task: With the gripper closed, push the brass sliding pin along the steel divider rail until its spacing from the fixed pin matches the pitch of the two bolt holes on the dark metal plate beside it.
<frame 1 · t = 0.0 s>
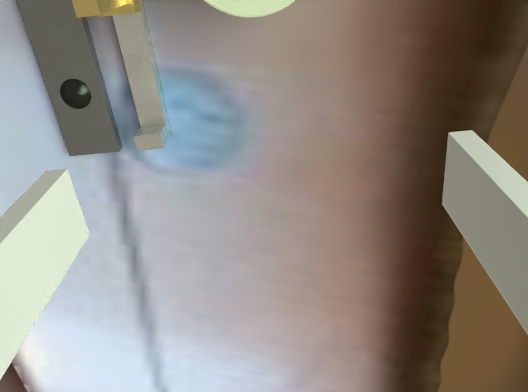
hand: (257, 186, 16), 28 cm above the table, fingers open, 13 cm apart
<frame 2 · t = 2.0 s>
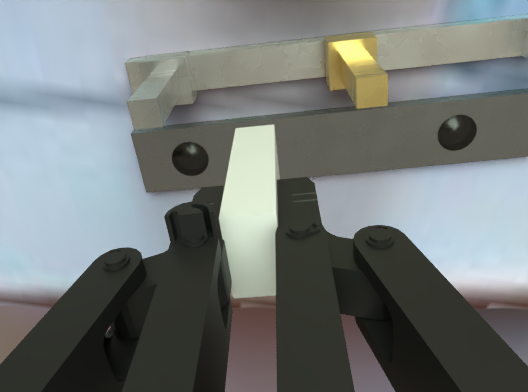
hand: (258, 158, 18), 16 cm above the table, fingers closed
hole plate: (333, 139, 35), on the table
slider: (358, 72, 27), point 6 cm above the table, slide at 1.0 cm
divider rail: (329, 53, 32), on the table
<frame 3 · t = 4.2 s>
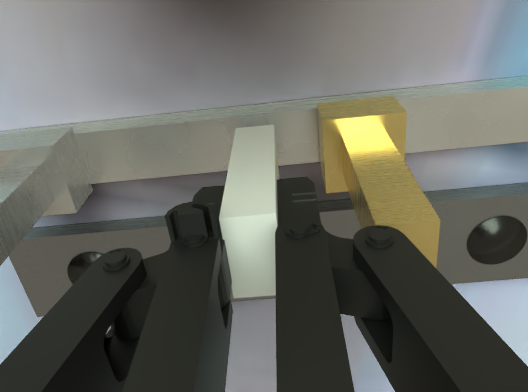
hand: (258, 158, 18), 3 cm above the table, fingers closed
hole plate: (309, 244, 24), on the table
slider: (375, 178, 15), point 6 cm above the table, slide at 2.2 cm, touching gripper
divider rail: (300, 125, 21), on the table
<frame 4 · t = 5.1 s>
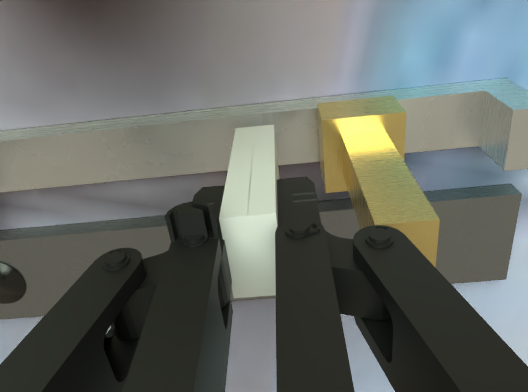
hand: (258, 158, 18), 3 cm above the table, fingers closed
hole plate: (209, 252, 24), on the table
slider: (374, 178, 15), point 6 cm above the table, slide at 7.4 cm, touching gripper
divider rail: (185, 137, 21), on the table
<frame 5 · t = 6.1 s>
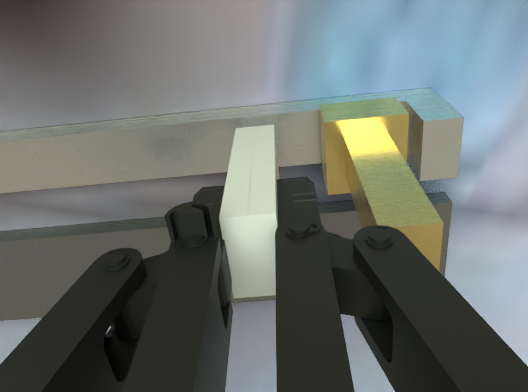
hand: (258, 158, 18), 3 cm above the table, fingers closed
hole plate: (150, 259, 24), on the table
slider: (377, 180, 15), point 6 cm above the table, slide at 10.6 cm, touching gripper
divider rail: (117, 145, 21), on the table
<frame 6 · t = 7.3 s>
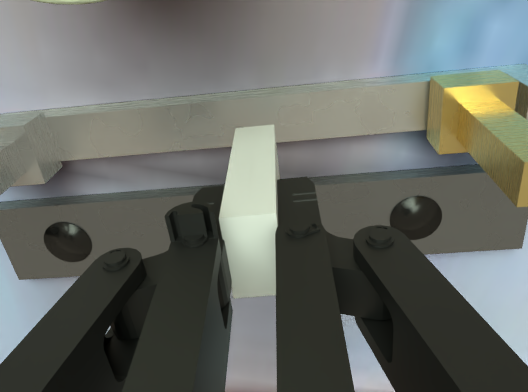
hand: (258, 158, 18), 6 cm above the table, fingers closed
hole plate: (254, 220, 27), on the table
slider: (495, 136, 18), point 6 cm above the table, slide at 10.6 cm
divider rail: (239, 114, 24), on the table
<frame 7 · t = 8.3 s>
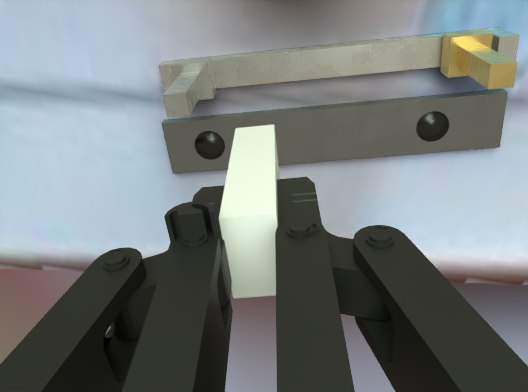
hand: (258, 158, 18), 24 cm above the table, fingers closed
hole plate: (329, 131, 42), on the table
slider: (479, 62, 33), point 6 cm above the table, slide at 10.6 cm
divider rail: (325, 59, 39), on the table
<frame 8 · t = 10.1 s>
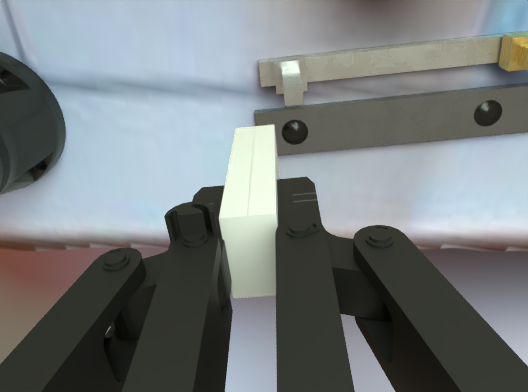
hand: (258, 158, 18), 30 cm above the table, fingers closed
hole plate: (397, 118, 49), on the table
divider rail: (399, 56, 46), on the table
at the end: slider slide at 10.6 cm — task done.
